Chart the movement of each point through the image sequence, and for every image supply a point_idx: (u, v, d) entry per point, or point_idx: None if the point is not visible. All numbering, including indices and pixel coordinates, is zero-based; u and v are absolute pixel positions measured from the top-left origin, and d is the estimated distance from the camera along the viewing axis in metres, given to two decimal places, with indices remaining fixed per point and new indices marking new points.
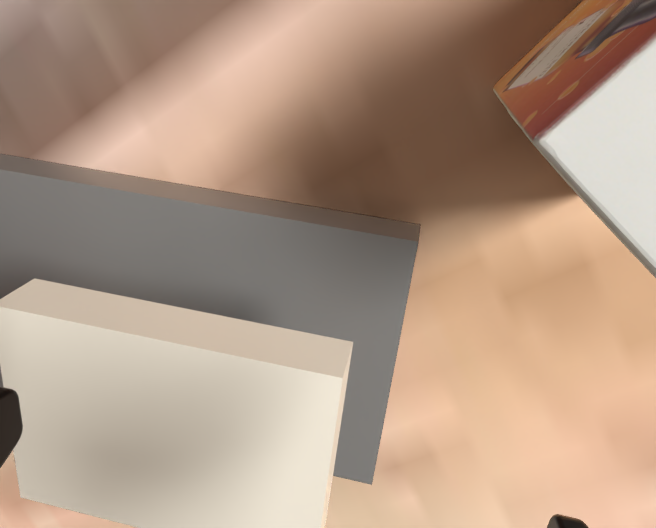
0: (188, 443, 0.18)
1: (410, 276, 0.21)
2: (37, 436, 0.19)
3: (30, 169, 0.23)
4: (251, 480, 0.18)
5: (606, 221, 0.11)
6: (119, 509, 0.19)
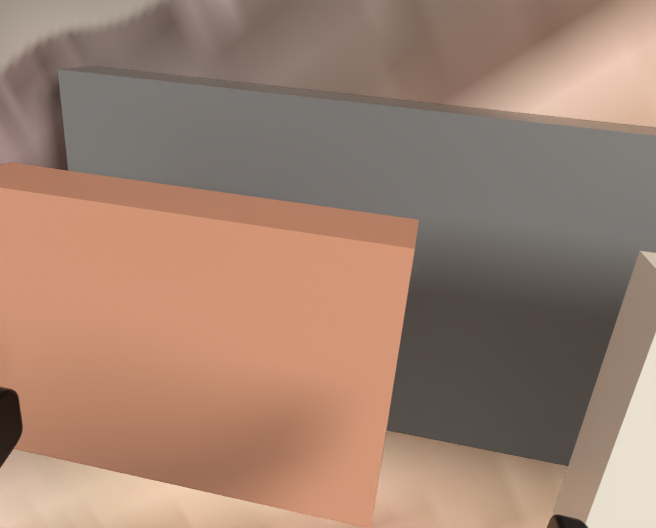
0: None
1: None
2: (650, 487, 0.12)
3: (476, 113, 0.17)
4: None
5: None
6: None
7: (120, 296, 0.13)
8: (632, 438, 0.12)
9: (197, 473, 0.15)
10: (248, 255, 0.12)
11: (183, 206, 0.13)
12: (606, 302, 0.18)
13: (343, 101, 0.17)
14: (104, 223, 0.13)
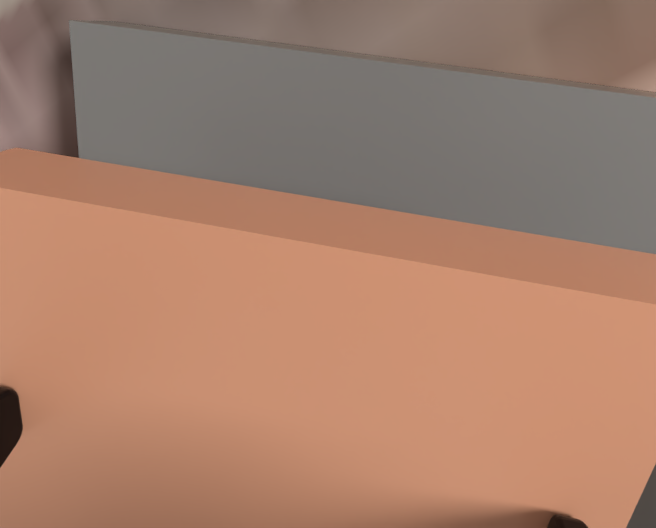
0: None
1: None
2: None
3: None
4: None
5: None
6: None
7: (191, 364, 0.08)
8: None
9: None
10: (417, 312, 0.07)
11: (305, 228, 0.08)
12: None
13: (487, 76, 0.12)
14: (174, 251, 0.08)
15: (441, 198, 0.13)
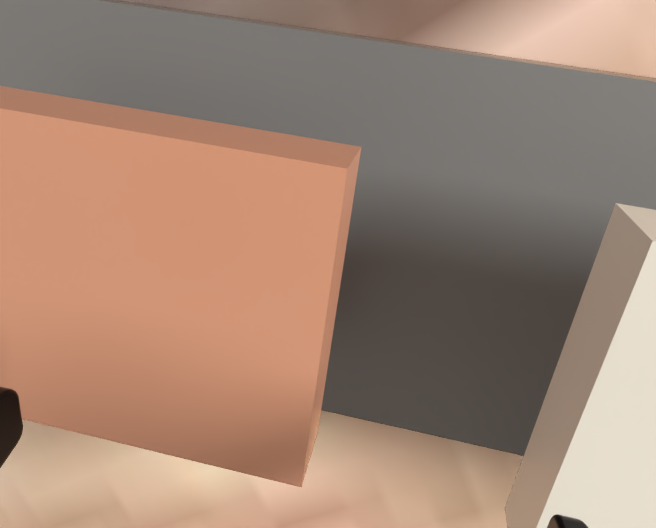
0: None
1: None
2: (613, 486, 0.10)
3: (439, 49, 0.15)
4: None
5: None
6: None
7: (24, 219, 0.12)
8: (595, 427, 0.10)
9: (114, 424, 0.14)
10: (163, 173, 0.11)
11: (94, 117, 0.11)
12: (577, 274, 0.16)
13: (284, 28, 0.15)
14: (2, 132, 0.11)
15: None
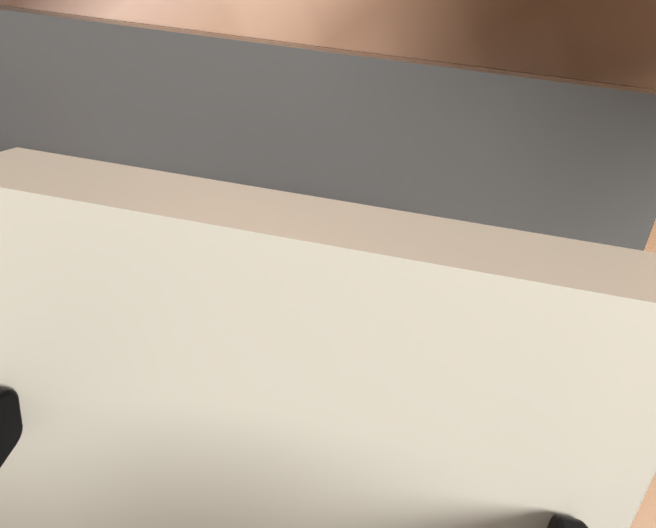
0: (324, 462, 0.09)
1: None
2: (23, 447, 0.10)
3: (14, 9, 0.14)
4: None
5: None
6: None
7: None
8: None
9: None
10: None
11: None
12: None
13: None
14: None
15: None
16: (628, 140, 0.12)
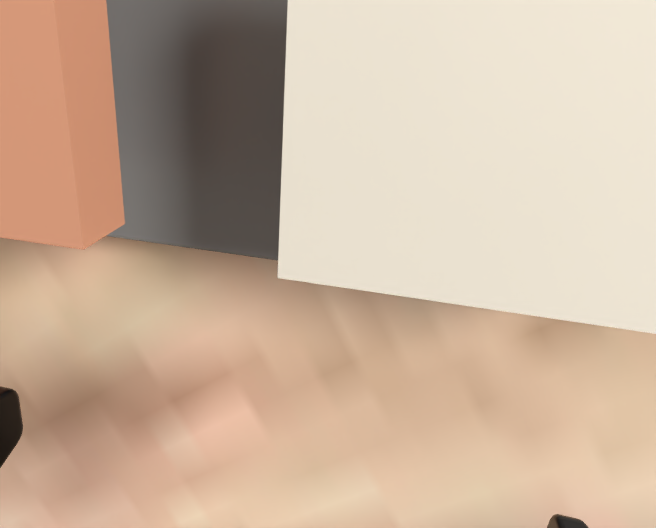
0: (615, 118, 0.10)
1: None
2: (329, 151, 0.12)
3: None
4: None
5: None
6: (448, 276, 0.12)
7: None
8: (299, 87, 0.11)
9: None
10: None
11: None
12: None
13: None
14: None
15: None
16: None
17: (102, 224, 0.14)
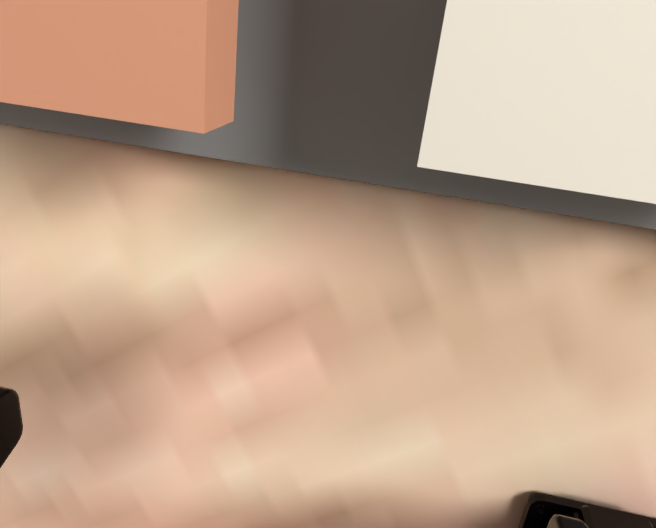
0: None
1: None
2: (496, 19, 0.11)
3: None
4: None
5: None
6: (609, 165, 0.12)
7: None
8: None
9: (13, 79, 0.13)
10: None
11: None
12: None
13: None
14: None
15: None
16: None
17: (218, 113, 0.14)
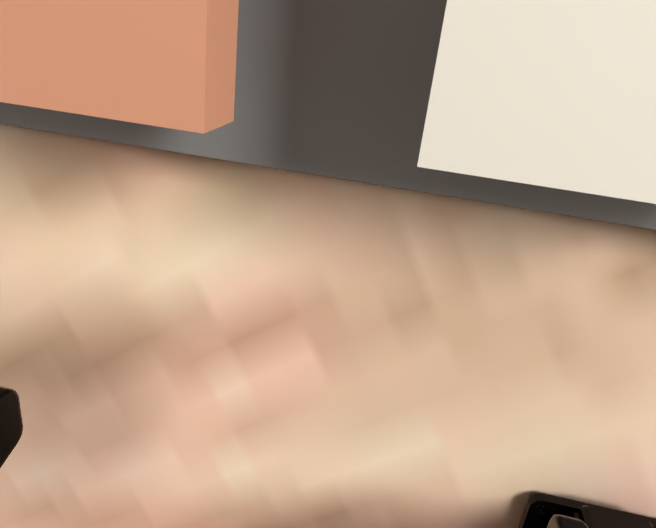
0: None
1: None
2: (496, 19, 0.11)
3: None
4: None
5: None
6: (609, 165, 0.12)
7: None
8: None
9: (13, 79, 0.13)
10: None
11: None
12: None
13: None
14: None
15: None
16: None
17: (218, 113, 0.14)
